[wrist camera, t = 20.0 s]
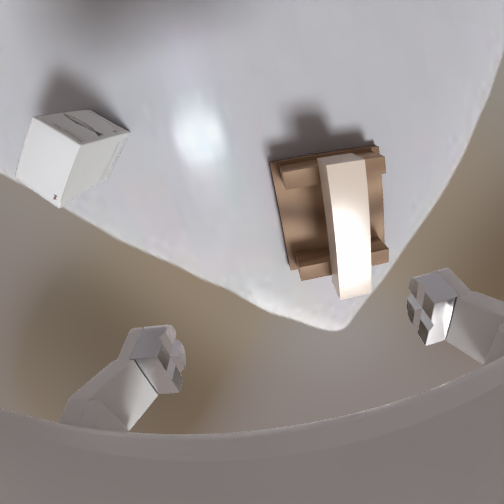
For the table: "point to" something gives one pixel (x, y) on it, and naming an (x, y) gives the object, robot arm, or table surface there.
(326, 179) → the beige rectangular bar
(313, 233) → the ridged wooden base
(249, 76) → the table surface
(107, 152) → the supplement box
